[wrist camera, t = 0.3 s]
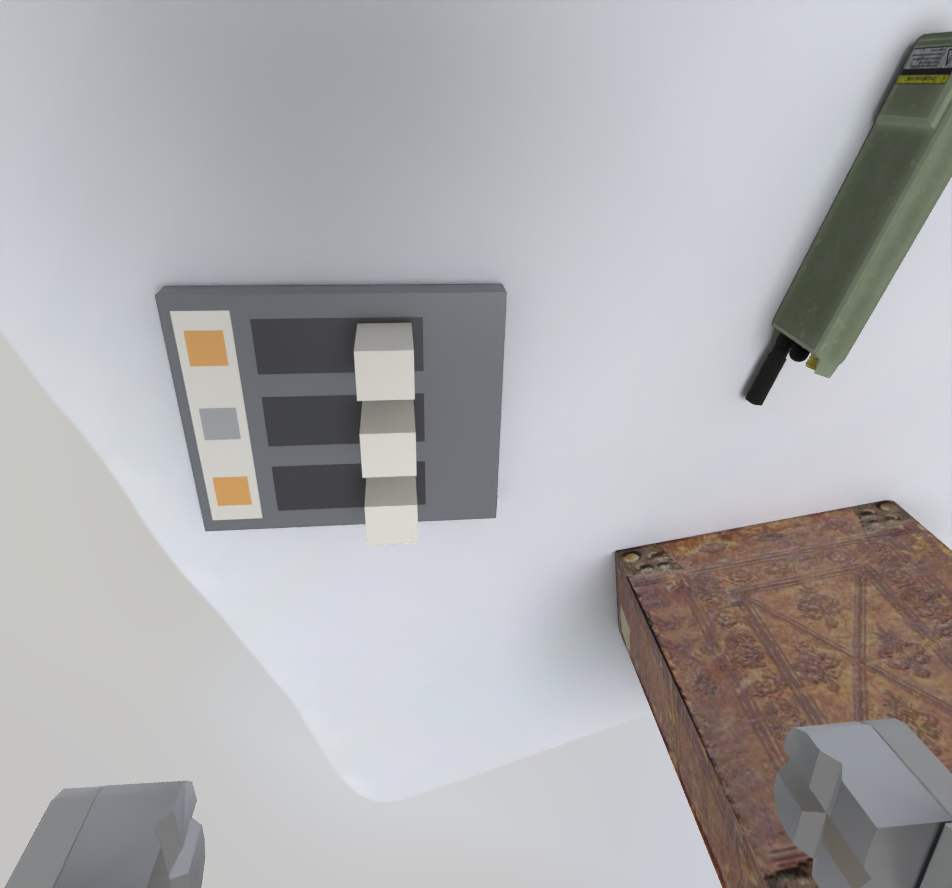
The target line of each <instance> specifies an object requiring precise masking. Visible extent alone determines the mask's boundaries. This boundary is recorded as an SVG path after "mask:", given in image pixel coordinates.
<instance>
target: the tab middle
mask: <svg viewBox="0 0 952 888" xmlns="http://www.w3.org/2000/svg"><path fill="white" fill-rule="evenodd" d="M359 435H360V450H361V464H362V478H371V477H397V476H417V469H416V430H415V416H414V401H413V400H375V401H362V410H361V422H360V434H359Z"/></svg>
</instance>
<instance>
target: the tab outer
mask: <svg viewBox="0 0 952 888" xmlns="http://www.w3.org/2000/svg"><path fill="white" fill-rule="evenodd" d="M365 522H366V536H367V546H371V545H392V544H412V543H418V513H417V492H416V476H397V477H371V478H366V491H365Z"/></svg>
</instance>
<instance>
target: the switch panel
mask: <svg viewBox="0 0 952 888" xmlns="http://www.w3.org/2000/svg"><path fill="white" fill-rule="evenodd" d="M506 296H507V292H506V290H505V288H504V286H503V284H424V285H286V286H164V287H163V288H162V289H161V290H160V291H159V292H158V293H157V294H156V295H155V298H156V303H157V307H158V312H159V317H160V321H161V326H162V331H163V335H164V340H165V345H166V349H167V354H168V359H169V363H170V368H171V373H172V377H173V382H174V387H175V392H176V396H177V401H178V406H179V410H180V415H181V420H182V424H183V429H184V434H185V438H186V443H187V448H188V452H189V457H190V462H191V466H192V471H193V476H194V480H195V485H196V490H197V494H198V499H199V504H200V508H201V513H202V518H203V522H204V527H205V531H223V530H245V529H266V528H288V527H310V526H332V525H354V524H366V522H365V491H366V478H362V464H361V450H360V435H359V434H360V422H361V410H362V401H357V392H356V378H355V363H354V345H355V338H356V330H357V323H412V335H413V347H414V381H415V399H413V401H414V416H415V430H416V469H417V476H416V492H417V513H418V522H419V521H441V520H463V519H485V518H496V509H497V487H498V466H499V445H500V423H501V402H502V381H503V360H504V338H505V317H506Z"/></svg>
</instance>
